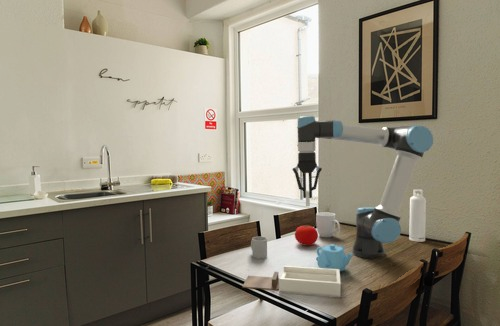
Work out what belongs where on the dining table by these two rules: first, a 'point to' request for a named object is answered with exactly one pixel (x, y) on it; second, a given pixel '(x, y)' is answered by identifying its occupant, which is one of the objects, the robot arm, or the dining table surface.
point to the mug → (326, 224)
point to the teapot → (333, 257)
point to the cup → (259, 247)
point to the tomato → (306, 235)
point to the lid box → (310, 281)
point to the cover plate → (262, 282)
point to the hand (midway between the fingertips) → (307, 205)
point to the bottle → (417, 216)
